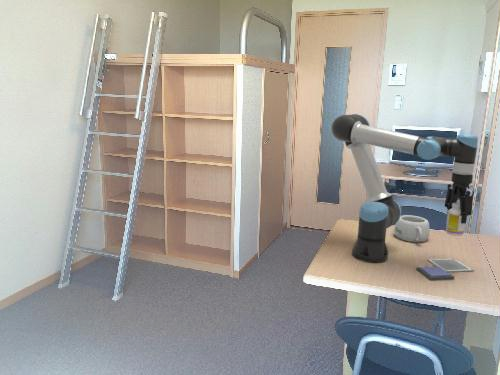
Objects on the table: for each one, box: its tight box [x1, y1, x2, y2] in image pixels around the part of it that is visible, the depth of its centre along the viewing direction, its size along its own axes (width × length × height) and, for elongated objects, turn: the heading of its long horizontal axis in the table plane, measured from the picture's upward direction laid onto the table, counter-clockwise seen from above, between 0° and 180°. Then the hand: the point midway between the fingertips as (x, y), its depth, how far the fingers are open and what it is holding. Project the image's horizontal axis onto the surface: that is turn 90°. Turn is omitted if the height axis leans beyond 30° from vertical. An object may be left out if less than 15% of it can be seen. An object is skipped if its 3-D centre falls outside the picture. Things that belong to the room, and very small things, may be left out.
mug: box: [393, 214, 430, 243], centre depth 211 cm, size 21×17×10 cm
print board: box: [426, 257, 475, 273], centre depth 180 cm, size 13×13×1 cm
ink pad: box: [415, 265, 455, 281], centre depth 170 cm, size 10×10×2 cm
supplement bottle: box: [445, 202, 465, 237], centre depth 176 cm, size 7×7×13 cm
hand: (455, 227), depth 176 cm, fingers closed on supplement bottle, 7 cm apart
